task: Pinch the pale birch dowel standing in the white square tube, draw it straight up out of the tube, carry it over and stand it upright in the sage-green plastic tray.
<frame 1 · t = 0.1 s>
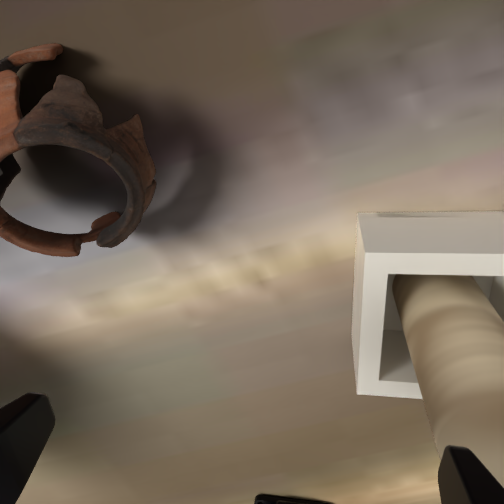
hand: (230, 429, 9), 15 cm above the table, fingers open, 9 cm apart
white square tube: (427, 279, 22), on the table
dowel: (430, 286, 21), point 1 cm above the table, touching white square tube
brown rounded hollow piece: (72, 145, 22), on the table
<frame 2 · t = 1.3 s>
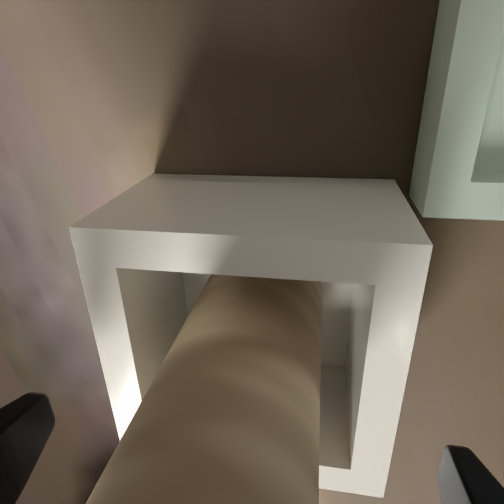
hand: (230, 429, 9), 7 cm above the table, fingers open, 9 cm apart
white square tube: (268, 281, 15), on the table
dowel: (265, 292, 14), point 1 cm above the table, touching white square tube
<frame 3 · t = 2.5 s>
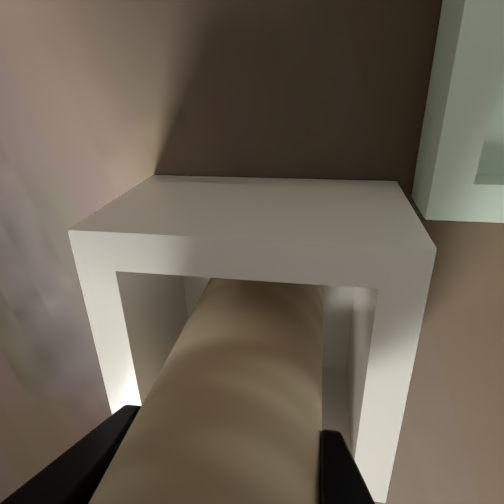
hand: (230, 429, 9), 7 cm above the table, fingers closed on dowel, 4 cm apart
white square tube: (268, 283, 15), on the table
dowel: (265, 295, 14), point 1 cm above the table, touching white square tube, gripper
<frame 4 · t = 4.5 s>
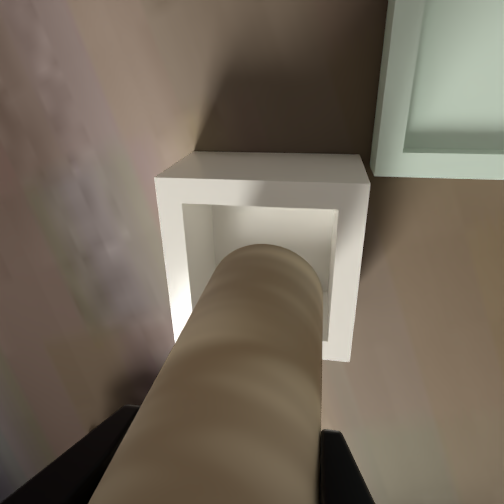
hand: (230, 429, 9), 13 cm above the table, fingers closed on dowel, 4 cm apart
white square tube: (273, 229, 20), on the table
dowel: (265, 295, 14), point 7 cm above the table, touching gripper
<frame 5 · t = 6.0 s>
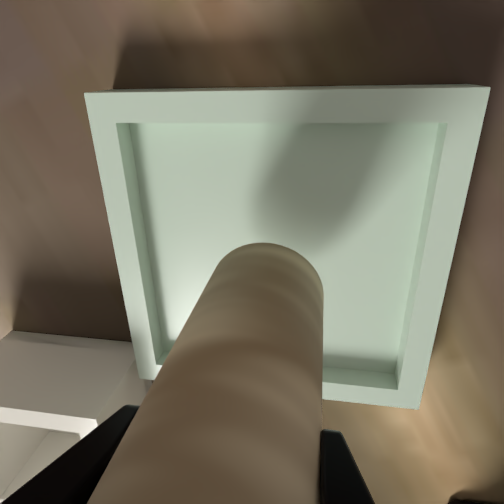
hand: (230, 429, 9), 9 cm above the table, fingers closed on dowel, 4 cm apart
white square tube: (91, 391, 23), on the table
dowel: (265, 294, 14), point 4 cm above the table, touching gripper
tray: (276, 248, 17), on the table
when the fingers open (8 cm above the table, at t = 7.0 s): dowel drops 1 cm, resting on tray.
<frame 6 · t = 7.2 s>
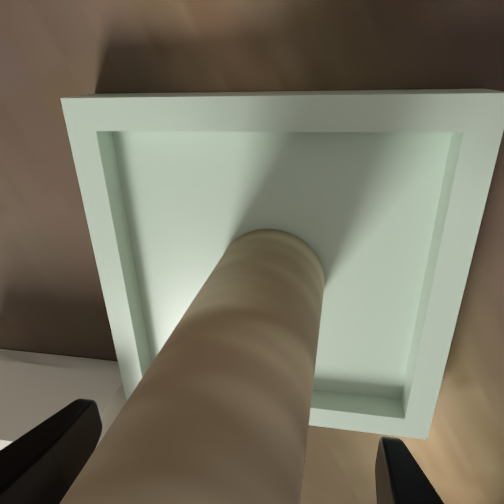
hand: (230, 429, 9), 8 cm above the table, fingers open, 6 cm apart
white square tube: (78, 411, 22), on the table
dowel: (271, 277, 15), point 1 cm above the table, touching tray
tray: (273, 264, 16), on the table
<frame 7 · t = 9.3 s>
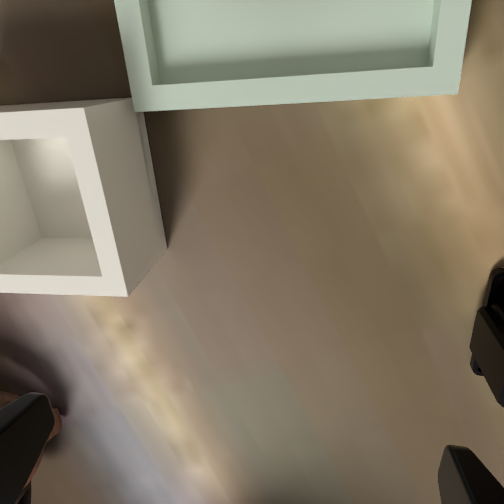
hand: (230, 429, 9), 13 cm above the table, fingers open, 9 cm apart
white square tube: (84, 181, 21), on the table
brown rounded hollow piece: (21, 421, 32), on the table
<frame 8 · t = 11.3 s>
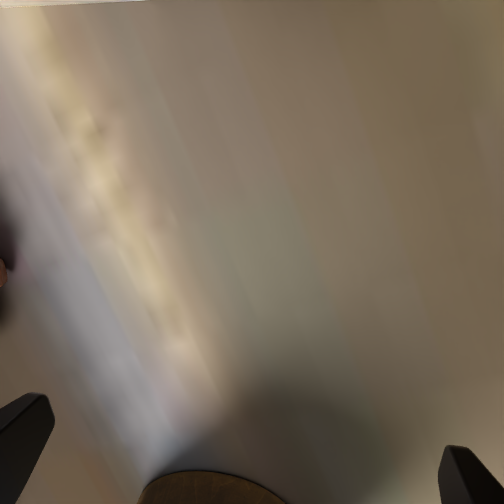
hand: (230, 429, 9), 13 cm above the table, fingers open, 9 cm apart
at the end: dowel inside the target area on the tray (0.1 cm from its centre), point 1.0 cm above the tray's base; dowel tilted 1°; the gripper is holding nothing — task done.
